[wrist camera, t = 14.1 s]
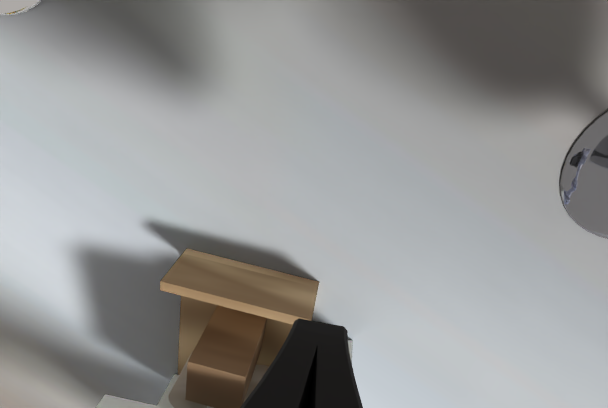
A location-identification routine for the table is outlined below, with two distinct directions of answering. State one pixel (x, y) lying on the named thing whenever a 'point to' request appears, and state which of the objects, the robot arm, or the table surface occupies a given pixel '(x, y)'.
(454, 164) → the table surface
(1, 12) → the wineglass
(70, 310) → the table surface
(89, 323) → the table surface
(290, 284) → the wooden toy
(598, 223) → the wine glass
